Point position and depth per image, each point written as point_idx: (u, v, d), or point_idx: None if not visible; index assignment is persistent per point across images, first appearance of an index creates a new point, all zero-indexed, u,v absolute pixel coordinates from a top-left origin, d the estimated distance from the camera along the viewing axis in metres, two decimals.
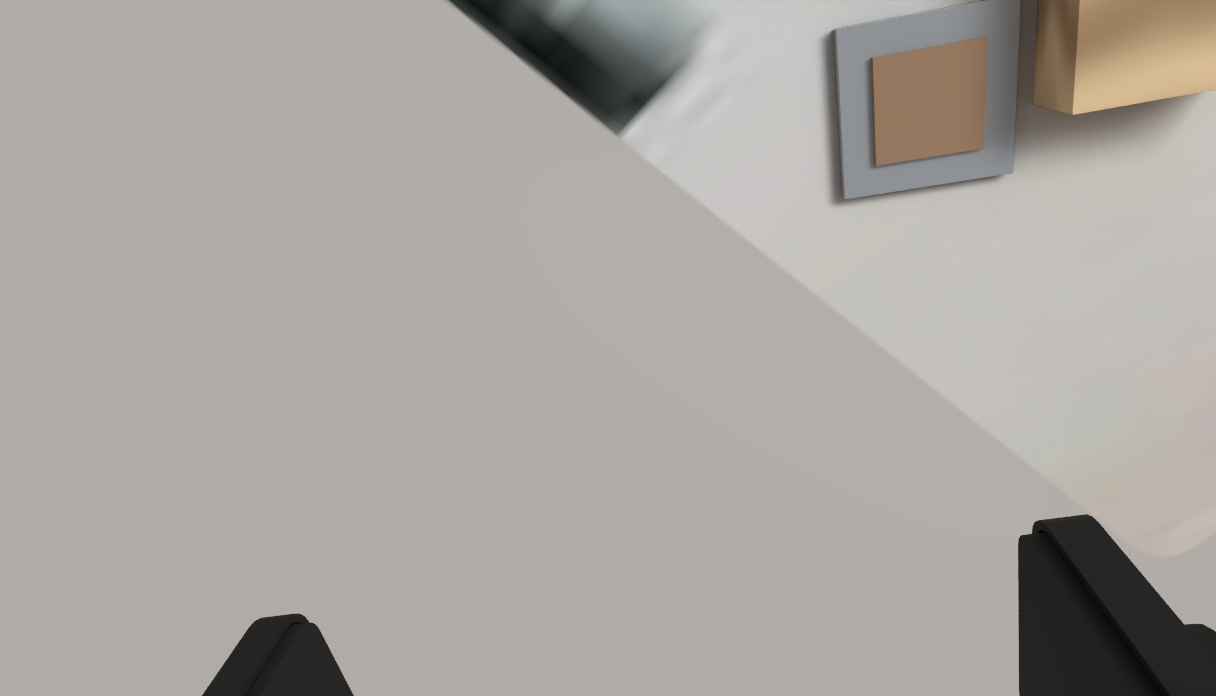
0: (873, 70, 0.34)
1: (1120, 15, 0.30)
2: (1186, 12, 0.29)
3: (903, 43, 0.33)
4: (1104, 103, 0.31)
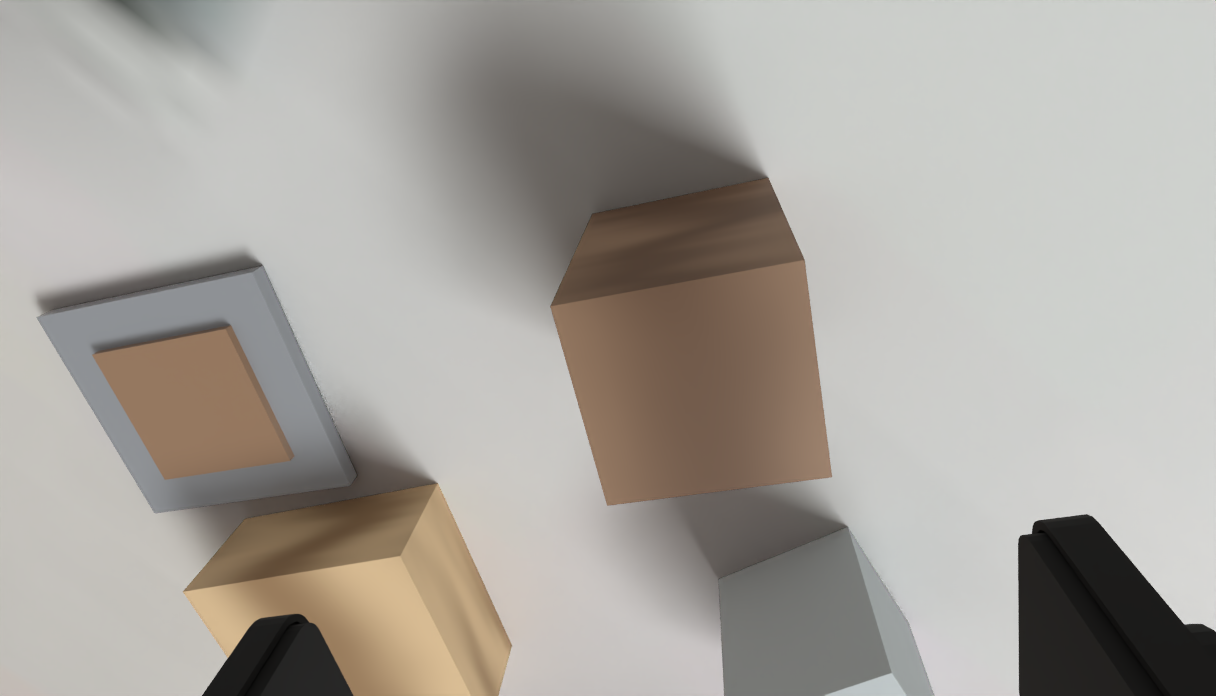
0: (212, 331, 0.23)
1: (301, 612, 0.24)
2: None
3: (260, 363, 0.23)
4: (207, 618, 0.24)
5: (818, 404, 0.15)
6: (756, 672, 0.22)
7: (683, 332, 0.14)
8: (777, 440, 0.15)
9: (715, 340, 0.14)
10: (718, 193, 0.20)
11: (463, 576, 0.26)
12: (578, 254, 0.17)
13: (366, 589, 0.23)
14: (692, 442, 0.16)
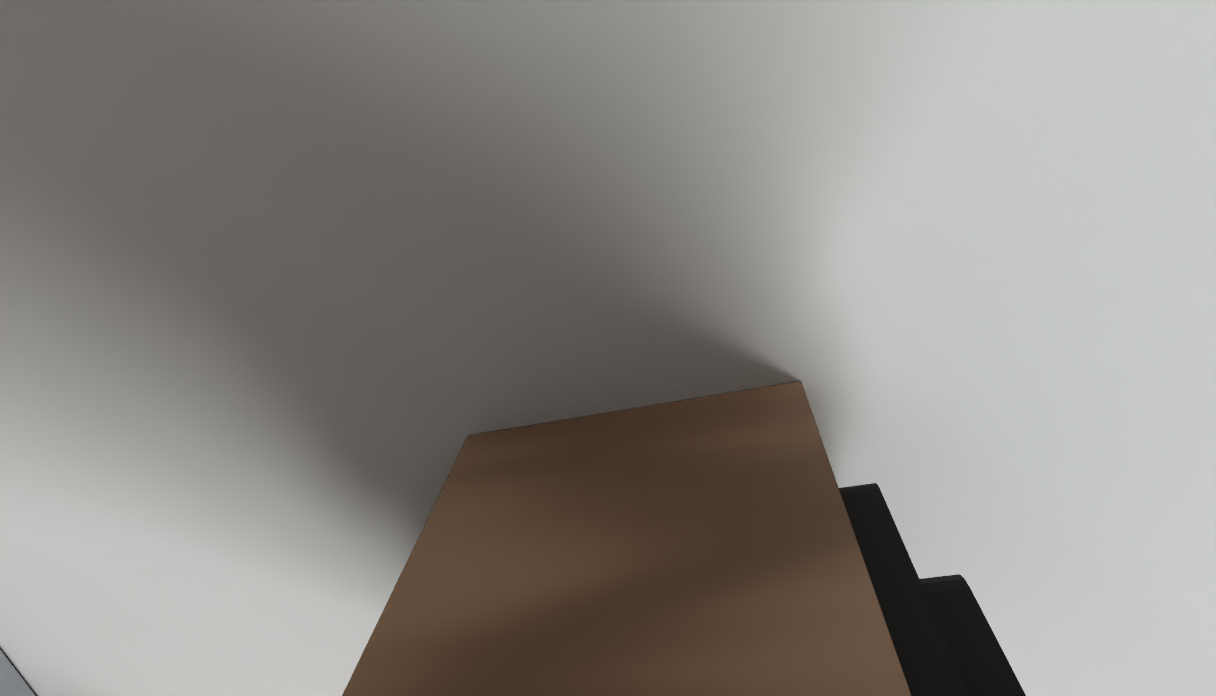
0: None
1: None
2: None
3: None
4: None
5: None
6: None
7: None
8: None
9: None
10: (704, 419, 0.10)
11: None
12: (388, 621, 0.08)
13: None
14: None
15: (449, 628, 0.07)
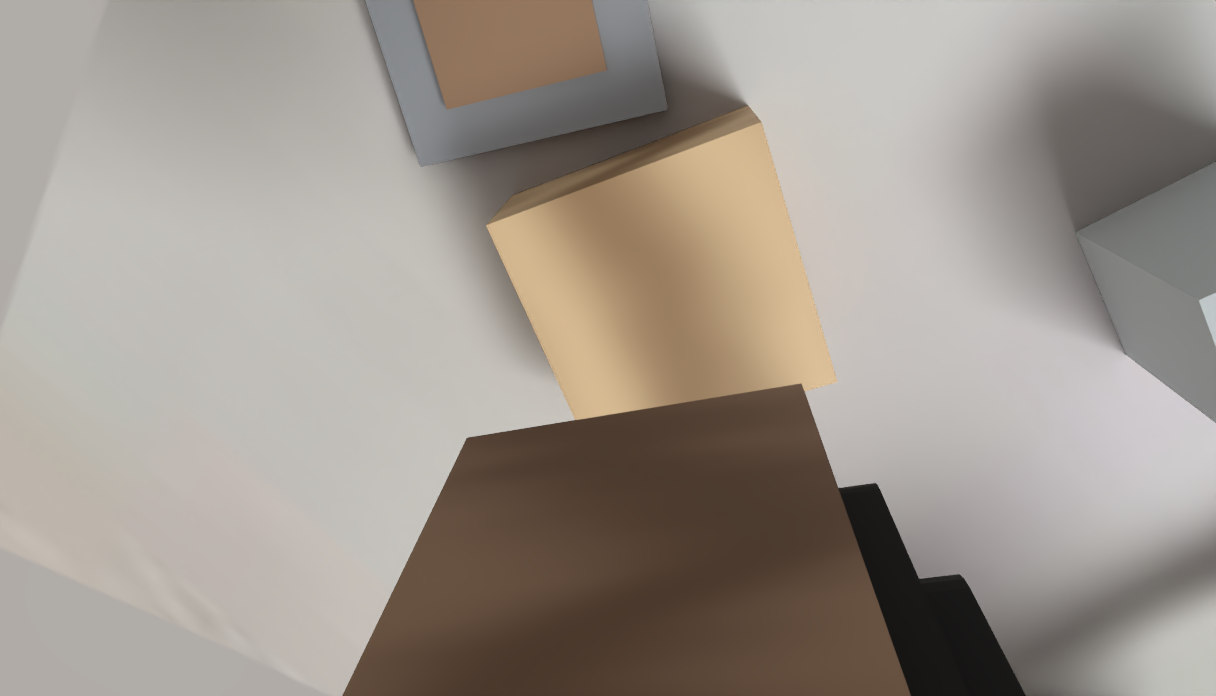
0: None
1: (627, 233, 0.20)
2: (644, 316, 0.21)
3: None
4: (511, 262, 0.21)
5: None
6: (1207, 258, 0.18)
7: None
8: None
9: None
10: (704, 421, 0.10)
11: None
12: (386, 627, 0.08)
13: (712, 183, 0.19)
14: None
15: (448, 633, 0.07)
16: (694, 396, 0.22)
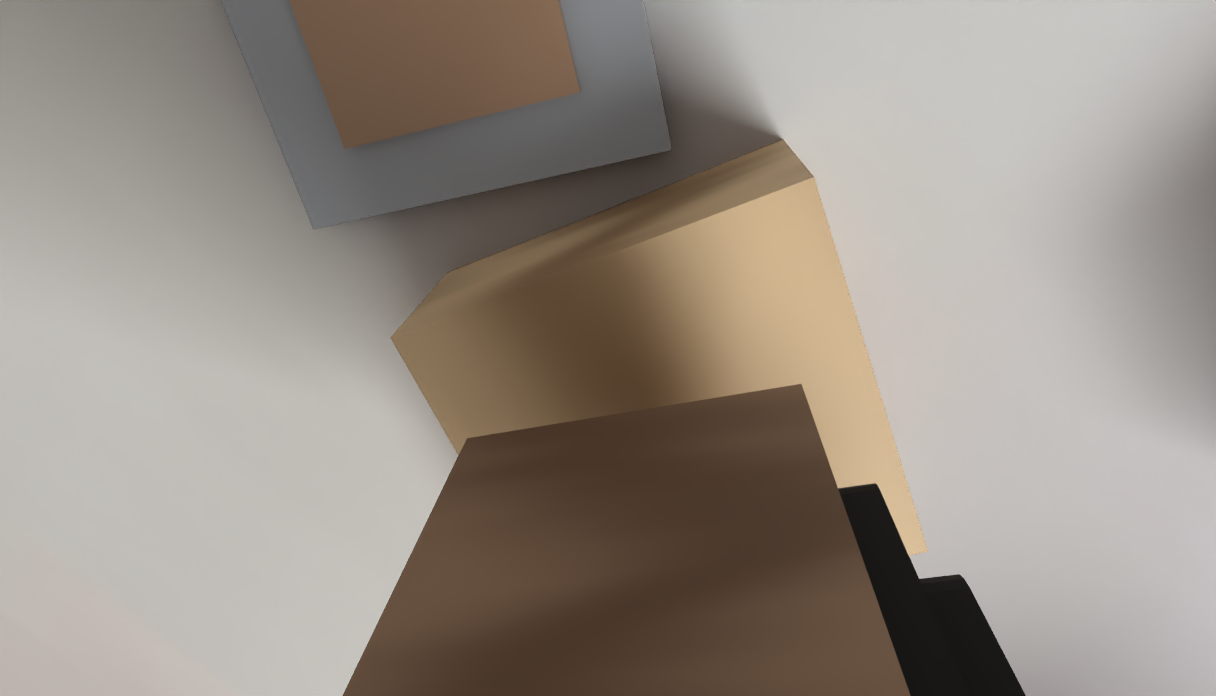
0: None
1: (604, 346, 0.13)
2: None
3: None
4: (433, 389, 0.14)
5: None
6: None
7: None
8: None
9: None
10: (704, 421, 0.10)
11: None
12: (386, 626, 0.08)
13: (735, 272, 0.12)
14: None
15: (448, 633, 0.07)
16: None
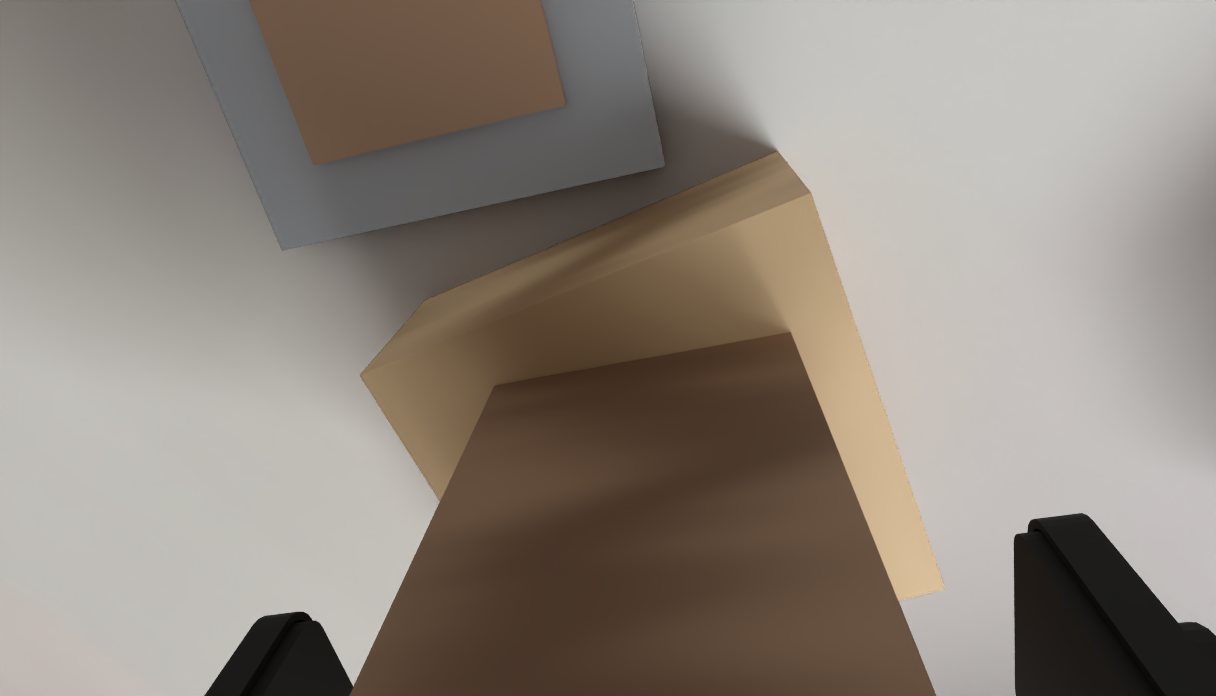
0: None
1: None
2: None
3: None
4: (408, 429, 0.13)
5: None
6: None
7: None
8: None
9: None
10: (705, 364, 0.11)
11: None
12: (438, 523, 0.09)
13: (728, 297, 0.11)
14: None
15: (492, 526, 0.09)
16: None
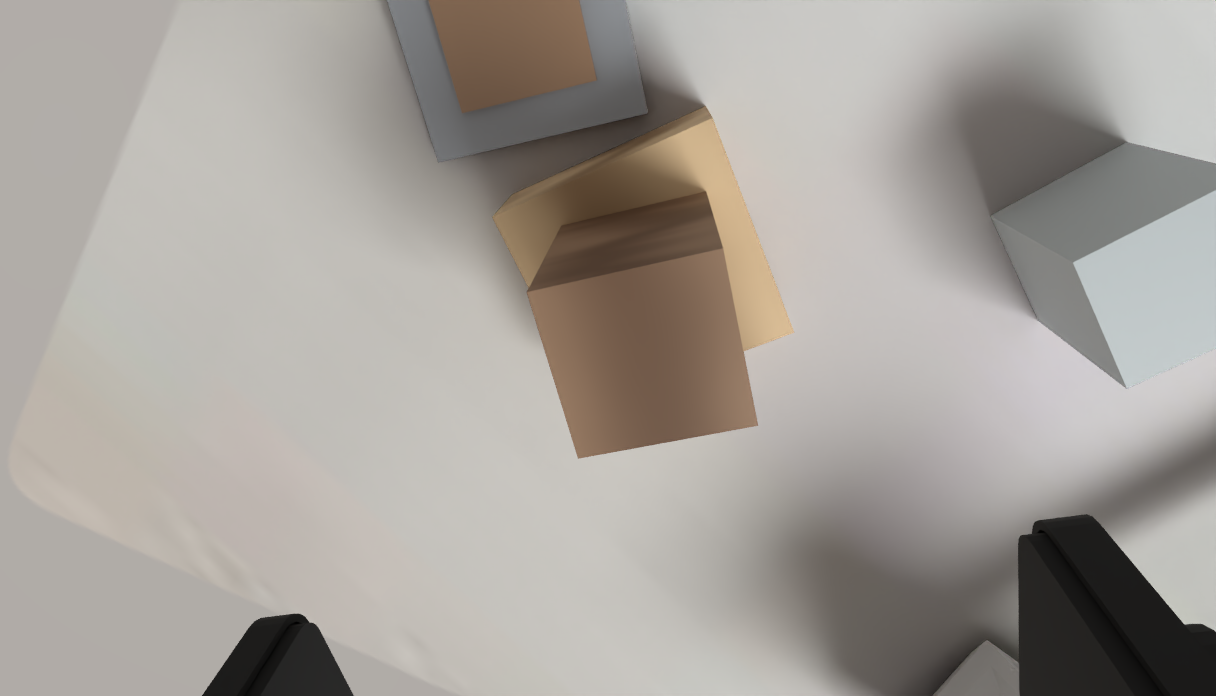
0: None
1: None
2: None
3: None
4: (515, 247, 0.25)
5: (742, 365, 0.19)
6: (1083, 230, 0.23)
7: (632, 309, 0.18)
8: (712, 396, 0.19)
9: (657, 315, 0.18)
10: (664, 204, 0.24)
11: None
12: (549, 255, 0.21)
13: (676, 170, 0.24)
14: (645, 401, 0.19)
15: (573, 251, 0.21)
16: None
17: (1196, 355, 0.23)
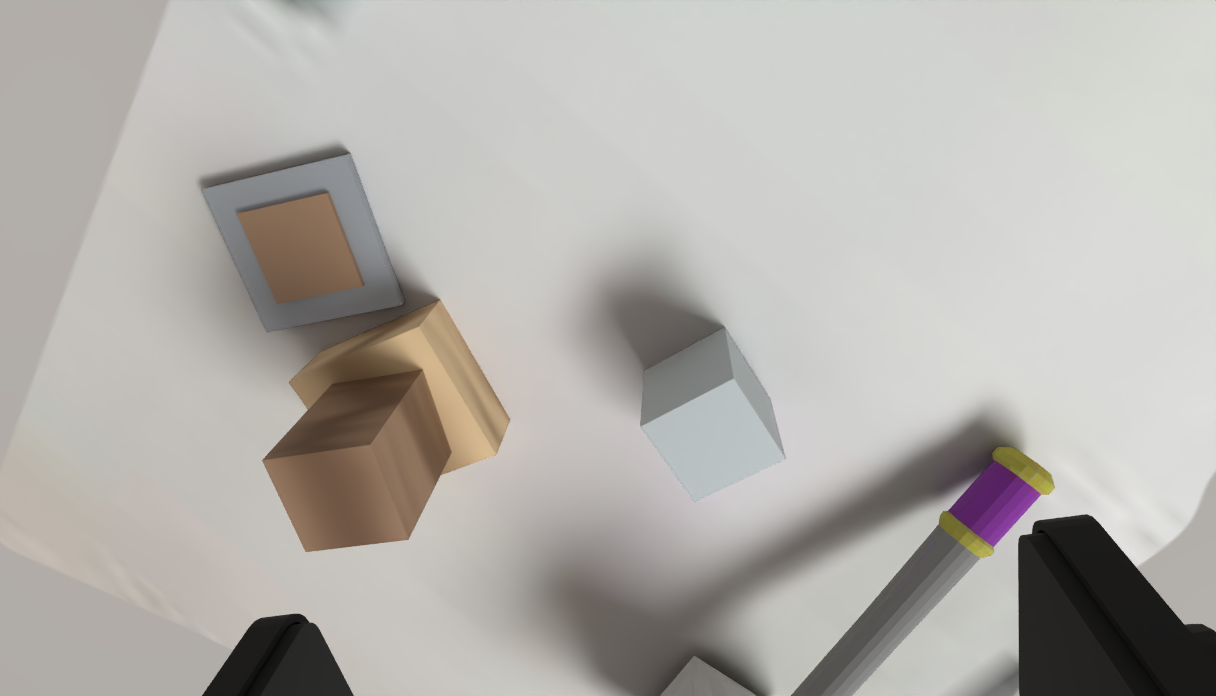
0: (317, 195, 0.36)
1: None
2: None
3: (346, 218, 0.37)
4: (306, 400, 0.38)
5: (393, 506, 0.31)
6: (660, 401, 0.35)
7: (324, 473, 0.31)
8: (378, 522, 0.32)
9: (339, 476, 0.31)
10: (392, 379, 0.36)
11: (466, 360, 0.39)
12: (300, 421, 0.34)
13: (401, 356, 0.36)
14: (340, 522, 0.32)
15: (312, 421, 0.33)
16: None
17: (731, 483, 0.35)
